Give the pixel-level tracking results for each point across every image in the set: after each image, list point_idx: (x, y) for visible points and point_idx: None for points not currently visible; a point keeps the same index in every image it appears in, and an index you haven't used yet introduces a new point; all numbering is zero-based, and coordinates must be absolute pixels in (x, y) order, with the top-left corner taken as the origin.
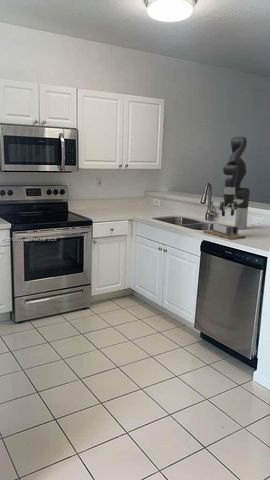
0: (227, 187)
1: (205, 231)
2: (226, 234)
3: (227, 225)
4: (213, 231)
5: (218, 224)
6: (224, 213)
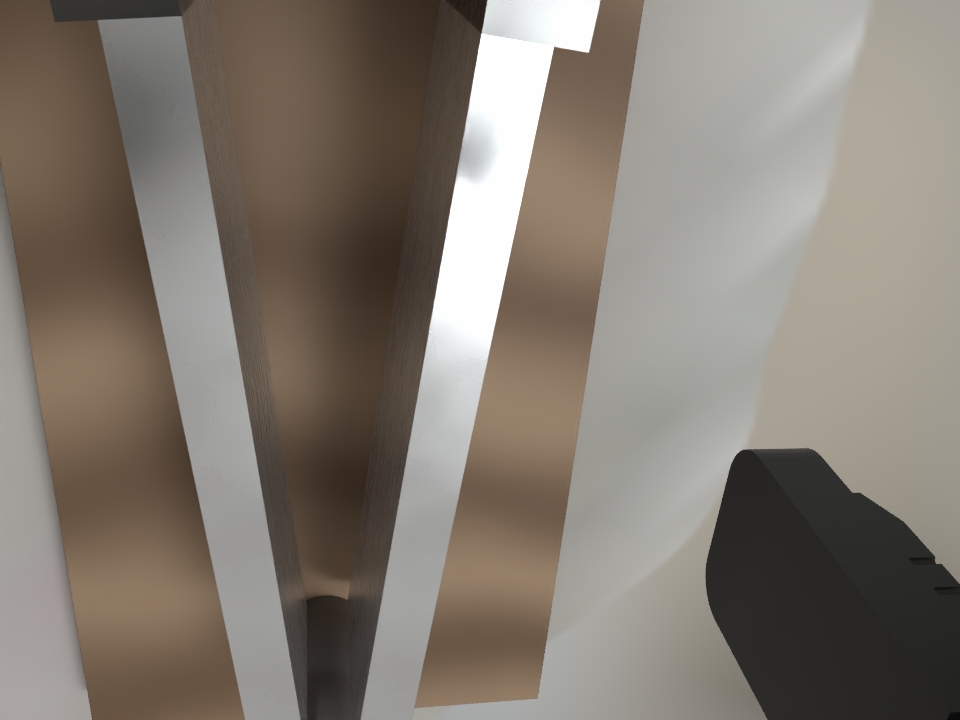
0: None
1: (545, 636)
2: (393, 104)
3: (234, 340)
4: None
5: (397, 597)
6: (878, 560)
